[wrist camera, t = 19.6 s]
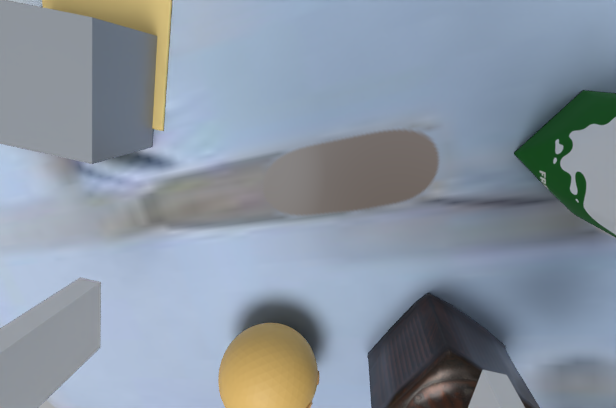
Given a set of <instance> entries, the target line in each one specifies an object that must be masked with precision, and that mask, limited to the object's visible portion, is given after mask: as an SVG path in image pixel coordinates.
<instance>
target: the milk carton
mask: <svg viewBox="0 0 616 408" xmlns="http://www.w3.org/2000/svg"><path fill="white" fill-rule="evenodd" d="M514 154H515V155H516V156H517V157H518V158H519V159H520V160H521V161H522V163H523V164H524V165H525V166H526V167H527V168H528V169H529V170H530V171H531V172H532V173H533V174H534V175H535V176H536V177H537V178H538V180H539V181H540V182H541V183H542V184H543V185H544V186H545V187H546V188H547V189H548V190H549V191H550V192H551V193H552V194H553V195H554V196H555V197H556V198H557V199H558V200H560V201H561V202H562V203H563V204H564V205H565V206H566V207H567V208H568V209H569V210H570V211H571V212H572V213H574V214H575V215H576V216H578V217H580V218H582V219H584V220H585V221H587V222H589V223H591V224H593V225H594V226H596V227H598V228H600V229H602V230H603V231H605V232H607V233H609V234H611V235H612V236H614V237H616V93H606V92H596V91H585V90H583V91H582V92H581V93H580V94H578V95H577V96H576V97H575V98H574V99H573V100H572V101H571V102H570V103H569V104H567V105H566V106H565V107H564V108H563V109H562V110H561V111H560V112H559V113H558V114H556V115H555V116H554V117H553V118H552V119H551V120H550V121H549V122H548V123H547V124H545V125H544V126H543V127H542V128H541V129H540V130H539V131H538V132H537V133H536V134H534V135H533V136H532V137H531V138H530V139H529V140H528V141H527V142H526V143H525V144H523V145H522V146H521V147H520V148H519V149H518V150H517V151H516V152H515V153H514Z"/></svg>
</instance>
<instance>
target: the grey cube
mask: <svg viewBox="0 0 616 408" xmlns="http://www.w3.org/2000/svg"><path fill="white" fill-rule="evenodd" d="M156 53H157V36H156V35H152V34H149V33H145V32H142V31H138V30H135V29H131V28H128V27H124V26H121V25H117V24H114V23H110V22H107V21H103V20H100V19H96V18H93V17H88V16H83V15H78V14H73V13H68V12H63V11H58V10H53V9H48V8H43V7H38V6H33V5H28V4H23V3H18V2H13V1H9V0H0V144H4V145H9V146H13V147H18V148H22V149H27V150H31V151H36V152H40V153H45V154H49V155H54V156H58V157H63V158H67V159H72V160H76V161H81V162H85V163H90V164H94V163H97V162H101V161H104V160H108V159H111V158H115V157H118V156H122V155H126V154H129V153H133V152H136V151H140V150H143V149H147V148H151V147H152V145H153V129H152V125H153V107H154V89H155V71H156Z"/></svg>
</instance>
